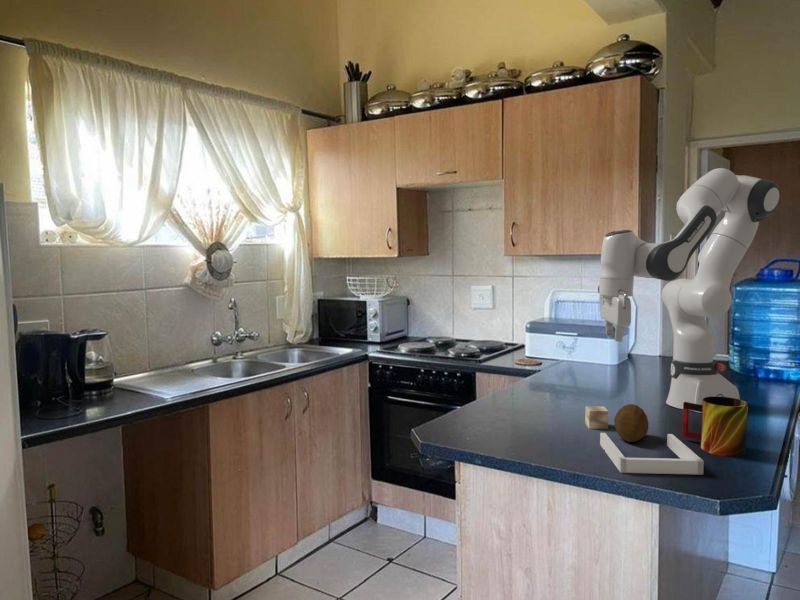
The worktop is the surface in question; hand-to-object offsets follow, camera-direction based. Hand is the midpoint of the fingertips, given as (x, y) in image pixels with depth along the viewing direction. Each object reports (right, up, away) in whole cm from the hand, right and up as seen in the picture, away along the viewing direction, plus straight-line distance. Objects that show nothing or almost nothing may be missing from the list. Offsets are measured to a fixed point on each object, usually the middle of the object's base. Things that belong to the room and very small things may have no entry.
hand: (613, 338), depth 170 cm
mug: (+17, -26, -21) cm, 37 cm away
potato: (0, -25, -12) cm, 28 cm away
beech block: (-5, -24, -2) cm, 25 cm away
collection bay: (-2, -26, -27) cm, 38 cm away
